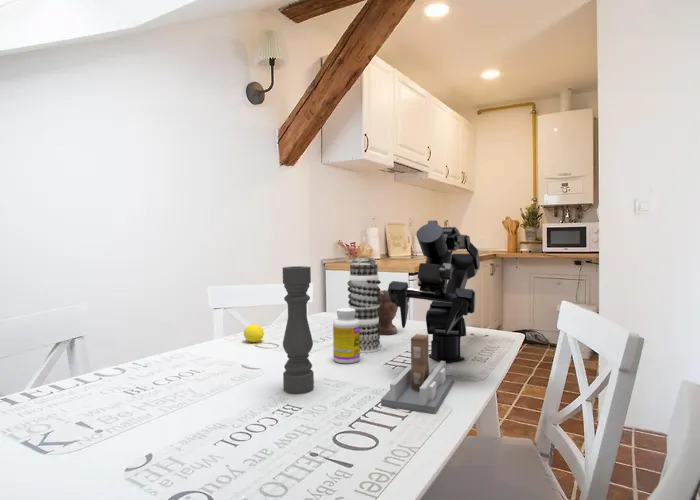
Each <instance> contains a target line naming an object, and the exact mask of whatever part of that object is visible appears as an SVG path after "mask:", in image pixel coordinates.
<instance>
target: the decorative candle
mask: <svg viewBox="0 0 700 500" xmlns="http://www.w3.org/2000/svg"><path fill="white" fill-rule="evenodd" d="M378 264H379V263H378V262H377V261H376V260H375V258H373V257H355V258H353V259H352V261H351V262H350V263H349V266H350V267H349V273H350V274H349V281H347V286H348V287H347V291H348V293H349V294H348V295H347V297H348V299H349V300H348V308H353V309H355V310H356V314H355V319H357V320H358V321H359V324H360V354H361V353H362V354H368V353H375V352H378V351H380V349H381V346H380V345H381V341H380V339H381V335H380V334H378V333H379V332H380V329H379V328H378V327H379V326H380V324H379V323H378V322H379V317H378V307H379V306H380V305H379V304H380V302H379V301H377V297H379V296H380V294H379V293H378V294H377V291H378V292H379V291H380V290H381V288H380V287H379V285H380V284H381V283H382V281H380V280H379V279H380V277H379V273H378V272H379V271H378ZM377 285H378V287H379V288H378V287H377Z"/></svg>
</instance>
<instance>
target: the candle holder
mask: <svg viewBox="0 0 700 500" xmlns="http://www.w3.org/2000/svg"><path fill="white" fill-rule="evenodd" d="M311 271H312V270H311V266H305V265H304V266H303V265H302V266H299V265H298V266H296V265H295V266H283V267H282V284H283V285H284V286H283V287H284V289H285V291H286V293H287V294H286V295H285V296H284V298H283V301H285V302H286V304H287V321H286V326H285V331H284V335H283V340H282V347H283V350H284V352H285V353H286V354H287V355H286V357H287V358H288V360H287V361H286V363H285V364H284V371H283V373H282V375H283V377H282V378H283V380H282V381H283V384H282V385H283V391H284V392H285V393H286V394H290V395H291V394H292V395H302V394H306V393H307V394H308V393H310V392H312V391H314V388H315V384H314V382H315V379H314V374H315V373H314V371H313V370H312V368H313V363H312V362H311V361H310V360H309V358H308V357H309V356H310V354H309V353H310V352H311V350H312V349H313V345H314V341H313V337H312V333H311V329H310V324H309V322H308V310H307V307H308V306H307V304H308V301H309V300H310V299H311V296H310V295H309V294H308V293H307V292H308V290H309V288H310V284H311V283H312V279H311V277H312V276H311V274H312V273H311Z"/></svg>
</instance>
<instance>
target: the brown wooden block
mask: <svg viewBox="0 0 700 500" xmlns="http://www.w3.org/2000/svg"><path fill="white" fill-rule="evenodd" d="M429 348H430V347H429V334H421V333H420V334H418V333H416V334H415V335H413V336H412V337H411V338H410V364H411V389H412V390H420V387H421V386H422V384H423V383H424V382H425V381H426V379H427V378H428V377H429V373H430V372H429V370H430V369H429V367H430V366H429V365H430V363H429V358H430V357H429V355H430V353H429V352H430V351H429Z"/></svg>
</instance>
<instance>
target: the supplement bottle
mask: <svg viewBox="0 0 700 500" xmlns="http://www.w3.org/2000/svg"><path fill="white" fill-rule="evenodd" d="M355 314H356V310H355V309H353V308H350V307H341V308H337V309H336V315H337V318H336V319H334V320H333V324H332V330H333V331H332V334H333V337H332V339H333V340H332V341H333V342H332V344H333V345H332V346H333V347H332V348H333V349H332V351H333V352H332V353H333V355H332V356H333V361H334V362H336V363H338V364H354V363H357V362H358V361H360V358H361V353H360V324H359V321H358V320H357V319H355Z"/></svg>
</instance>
